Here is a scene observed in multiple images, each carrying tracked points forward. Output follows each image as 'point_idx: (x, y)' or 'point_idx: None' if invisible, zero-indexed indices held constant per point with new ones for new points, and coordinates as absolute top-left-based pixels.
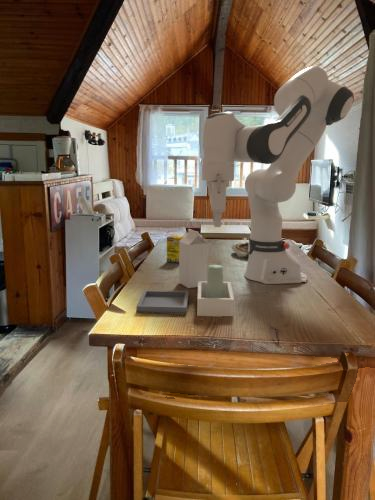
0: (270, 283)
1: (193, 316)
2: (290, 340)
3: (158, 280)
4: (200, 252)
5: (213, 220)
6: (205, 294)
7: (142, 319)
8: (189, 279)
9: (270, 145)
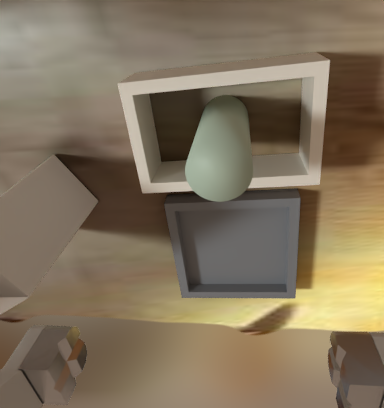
0: None
1: None
2: None
3: (62, 271)
4: (7, 235)
5: (85, 361)
6: (157, 153)
7: (330, 272)
8: (86, 212)
9: None
